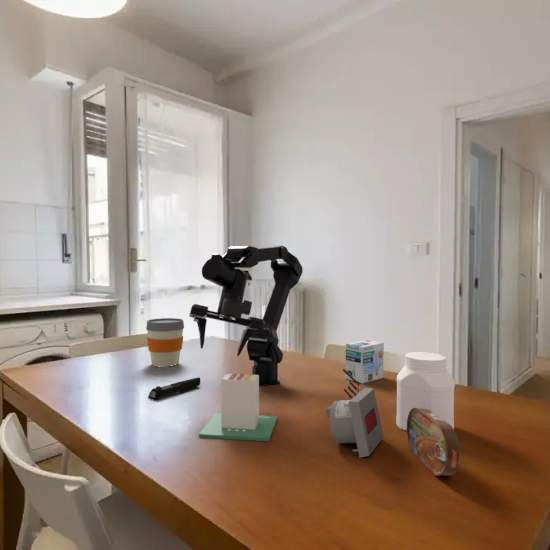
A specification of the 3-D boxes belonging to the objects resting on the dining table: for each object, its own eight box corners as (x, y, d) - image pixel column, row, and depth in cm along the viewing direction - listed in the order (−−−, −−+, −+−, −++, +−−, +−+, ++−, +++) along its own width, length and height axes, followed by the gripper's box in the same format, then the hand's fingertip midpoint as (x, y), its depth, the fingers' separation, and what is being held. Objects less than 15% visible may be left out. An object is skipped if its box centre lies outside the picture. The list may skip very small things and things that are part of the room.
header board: (215, 415, 94) (215, 399, 94) (277, 418, 92) (277, 402, 92) (198, 436, 82) (198, 418, 82) (268, 441, 80) (269, 422, 80)
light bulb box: (362, 384, 119) (363, 346, 119) (344, 379, 125) (344, 343, 124) (384, 377, 127) (384, 342, 126) (366, 373, 132) (366, 339, 131)
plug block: (226, 419, 90) (226, 372, 90) (258, 421, 89) (258, 374, 89) (221, 427, 85) (221, 378, 85) (254, 429, 85) (255, 379, 84)
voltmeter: (399, 458, 74) (399, 403, 73) (335, 461, 72) (336, 405, 72) (355, 407, 100) (355, 366, 100) (308, 408, 99) (308, 367, 99)
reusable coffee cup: (167, 358, 151) (167, 317, 151) (191, 363, 144) (191, 320, 144) (138, 364, 141) (138, 320, 141) (162, 370, 134) (162, 324, 134)
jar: (460, 427, 88) (461, 356, 88) (443, 441, 81) (444, 364, 80) (408, 413, 96) (408, 348, 95) (388, 425, 88) (389, 355, 88)
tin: (405, 444, 79) (405, 400, 79) (420, 444, 79) (421, 400, 79) (443, 486, 64) (444, 432, 64) (463, 486, 64) (463, 432, 64)
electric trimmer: (203, 389, 116) (203, 377, 116) (155, 402, 104) (155, 389, 104) (195, 386, 118) (195, 375, 118) (147, 399, 106) (147, 386, 106)
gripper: (199, 277, 98) (183, 342, 94) (275, 295, 102) (262, 359, 97) (196, 285, 108) (181, 345, 104) (264, 302, 112) (253, 360, 108)
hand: (219, 352), depth 103 cm, fingers open, 9 cm apart
